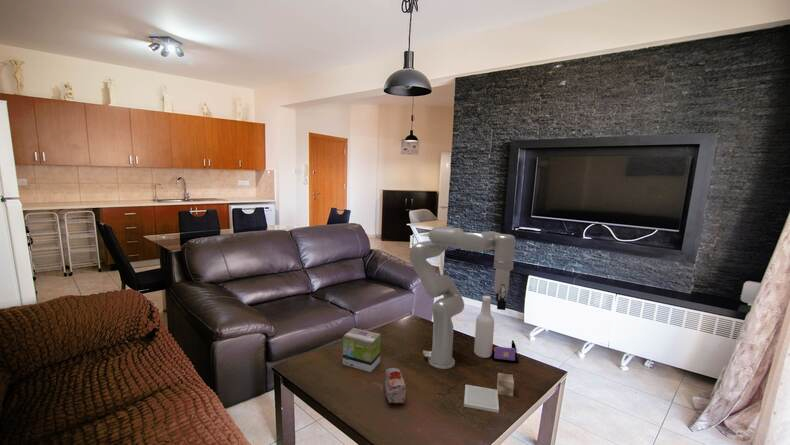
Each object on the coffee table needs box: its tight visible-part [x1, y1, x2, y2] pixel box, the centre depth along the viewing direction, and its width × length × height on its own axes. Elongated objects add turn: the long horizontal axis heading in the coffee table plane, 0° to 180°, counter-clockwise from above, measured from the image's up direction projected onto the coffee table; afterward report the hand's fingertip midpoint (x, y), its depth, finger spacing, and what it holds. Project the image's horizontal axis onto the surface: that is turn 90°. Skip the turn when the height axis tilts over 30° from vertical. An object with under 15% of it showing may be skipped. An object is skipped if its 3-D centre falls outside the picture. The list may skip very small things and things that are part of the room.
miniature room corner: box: [491, 339, 519, 364], centre depth 174 cm, size 12×12×7 cm
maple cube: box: [496, 372, 515, 397], centre depth 145 cm, size 6×6×6 cm
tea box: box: [342, 327, 382, 373], centre depth 161 cm, size 15×10×15 cm, turn 68°
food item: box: [383, 367, 407, 404], centre depth 139 cm, size 14×8×10 cm, turn 12°
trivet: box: [463, 384, 500, 414], centre depth 139 cm, size 13×13×1 cm
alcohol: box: [473, 295, 495, 359], centre depth 173 cm, size 9×9×30 cm
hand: (500, 305), depth 143 cm, fingers open, 9 cm apart
